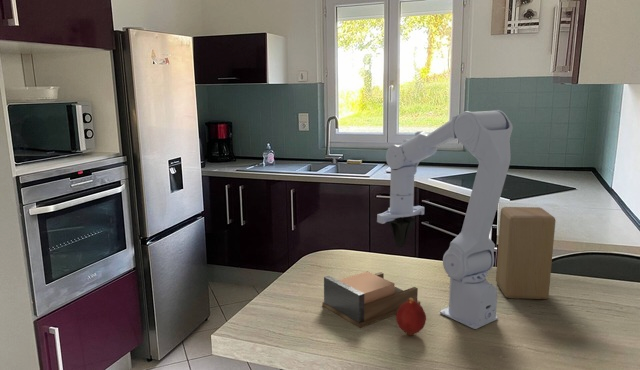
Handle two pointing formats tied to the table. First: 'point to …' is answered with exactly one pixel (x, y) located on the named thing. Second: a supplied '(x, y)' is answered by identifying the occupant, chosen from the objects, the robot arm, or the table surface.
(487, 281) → the robot arm
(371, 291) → the tile
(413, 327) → the red pomegranate
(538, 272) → the wooden block
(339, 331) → the table surface
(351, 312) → the track
